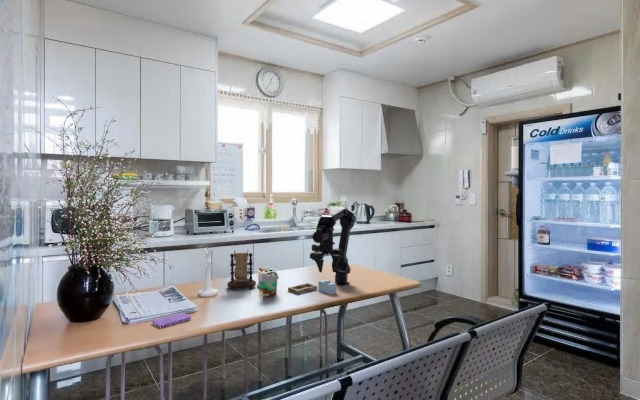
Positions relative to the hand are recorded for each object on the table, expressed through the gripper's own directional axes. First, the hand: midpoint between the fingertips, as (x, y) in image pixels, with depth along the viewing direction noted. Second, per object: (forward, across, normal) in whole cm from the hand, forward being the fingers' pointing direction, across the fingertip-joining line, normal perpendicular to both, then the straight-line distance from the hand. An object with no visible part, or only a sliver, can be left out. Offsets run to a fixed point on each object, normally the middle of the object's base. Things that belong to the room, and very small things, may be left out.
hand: (327, 270), depth 187 cm
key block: (+11, 0, 0) cm, 11 cm away
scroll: (+11, +29, -35) cm, 47 cm away
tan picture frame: (+10, +8, -10) cm, 17 cm away
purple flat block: (+11, +74, -10) cm, 76 cm away
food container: (+11, +24, -14) cm, 30 cm away
